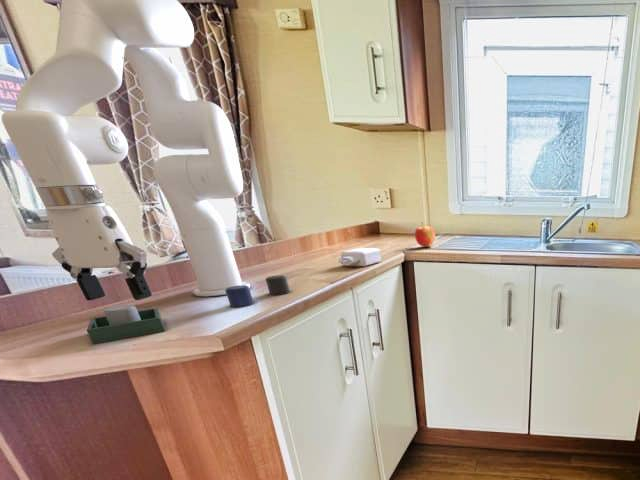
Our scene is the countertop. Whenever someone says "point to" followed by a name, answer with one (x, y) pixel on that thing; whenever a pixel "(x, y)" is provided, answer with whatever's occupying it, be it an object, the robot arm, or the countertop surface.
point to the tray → (125, 327)
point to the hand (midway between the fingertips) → (120, 298)
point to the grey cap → (122, 314)
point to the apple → (425, 236)
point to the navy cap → (239, 296)
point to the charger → (360, 257)
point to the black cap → (277, 285)
